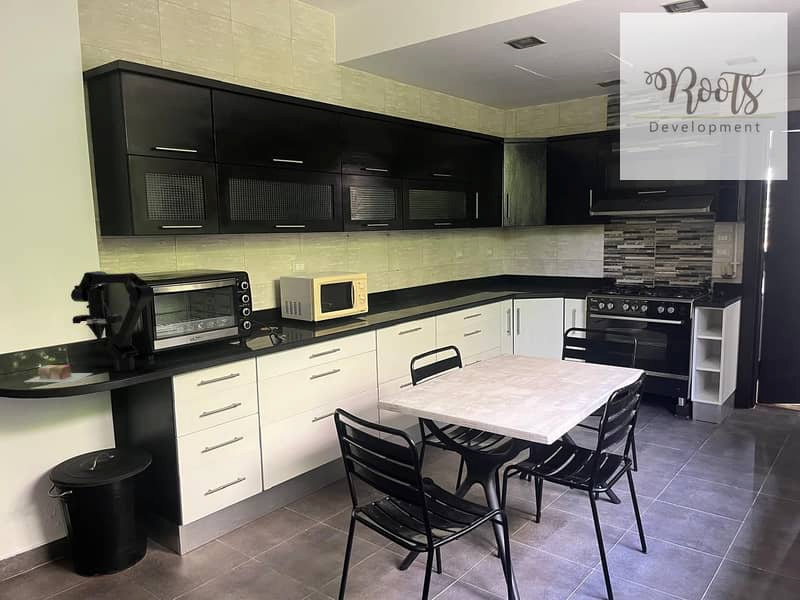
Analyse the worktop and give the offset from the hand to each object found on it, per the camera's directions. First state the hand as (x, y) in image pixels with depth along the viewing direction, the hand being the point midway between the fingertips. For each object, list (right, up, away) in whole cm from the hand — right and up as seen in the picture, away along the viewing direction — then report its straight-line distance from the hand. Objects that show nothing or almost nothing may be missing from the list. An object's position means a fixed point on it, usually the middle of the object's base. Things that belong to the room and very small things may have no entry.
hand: (99, 339), depth 243 cm
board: (-9, -15, -12) cm, 22 cm away
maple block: (-6, -12, -14) cm, 19 cm away
